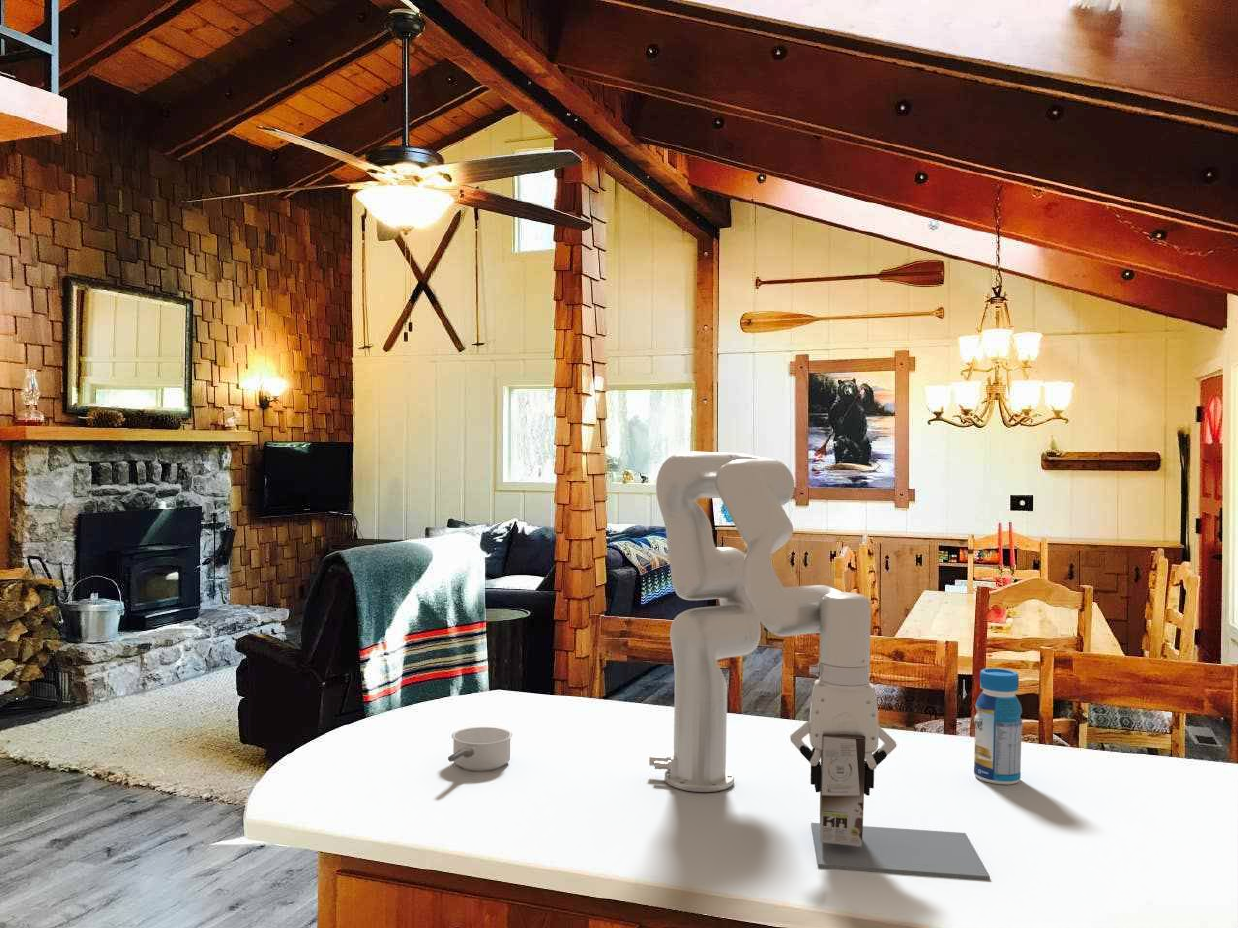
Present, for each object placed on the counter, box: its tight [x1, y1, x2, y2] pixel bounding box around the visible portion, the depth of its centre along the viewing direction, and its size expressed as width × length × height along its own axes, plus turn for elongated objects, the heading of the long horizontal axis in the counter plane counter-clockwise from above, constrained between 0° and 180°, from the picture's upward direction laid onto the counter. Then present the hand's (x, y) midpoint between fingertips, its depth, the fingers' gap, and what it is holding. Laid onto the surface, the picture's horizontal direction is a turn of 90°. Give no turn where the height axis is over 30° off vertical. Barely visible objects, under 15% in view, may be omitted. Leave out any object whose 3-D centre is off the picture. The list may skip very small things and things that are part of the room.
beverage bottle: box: [973, 667, 1024, 786], centre depth 183 cm, size 8×8×20 cm
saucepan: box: [447, 726, 513, 772], centre depth 182 cm, size 12×20×6 cm, turn 165°
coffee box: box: [819, 734, 866, 847], centre depth 149 cm, size 9×6×16 cm
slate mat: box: [810, 822, 991, 881], centre depth 148 cm, size 24×16×1 cm, turn 82°
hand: (841, 789), depth 149 cm, fingers closed on coffee box, 6 cm apart
